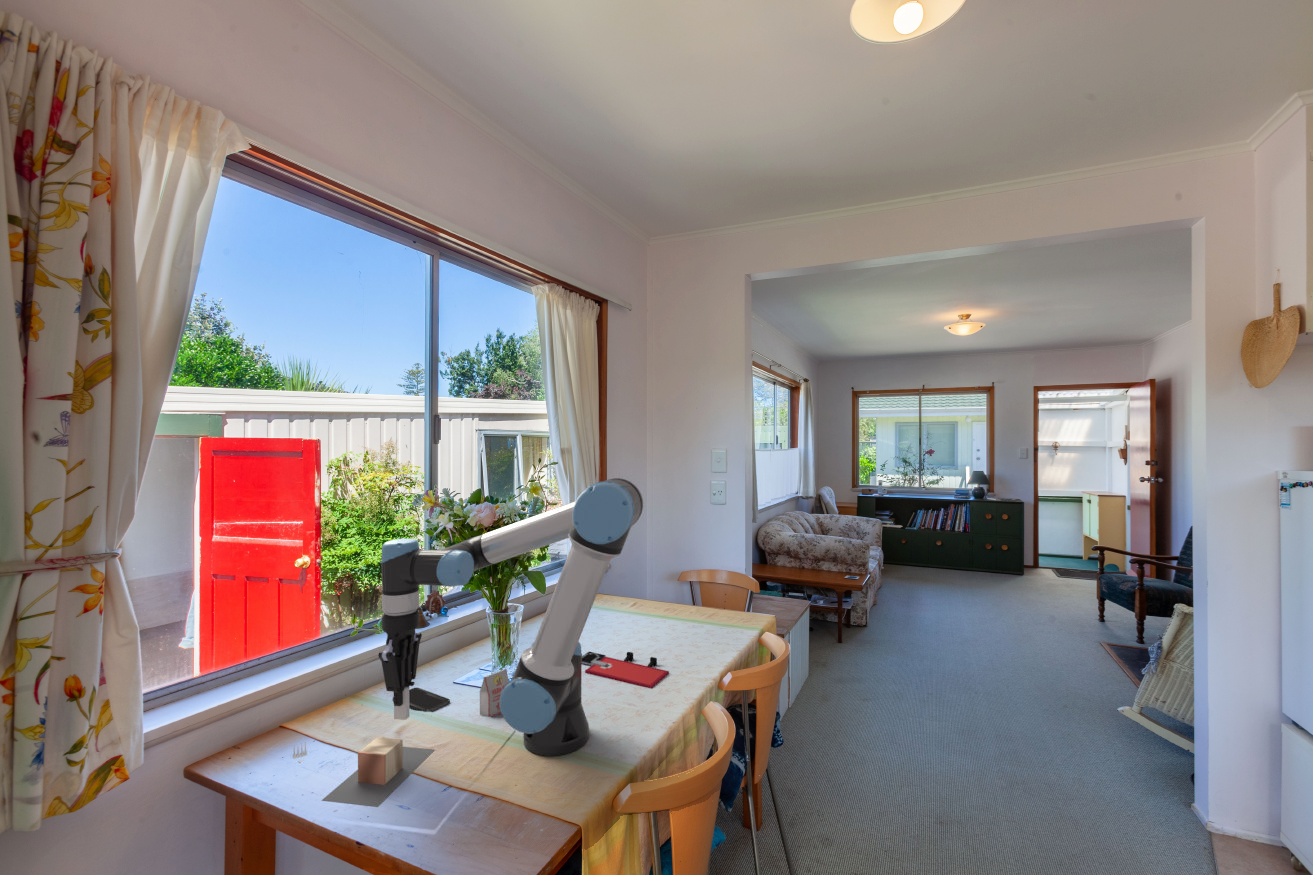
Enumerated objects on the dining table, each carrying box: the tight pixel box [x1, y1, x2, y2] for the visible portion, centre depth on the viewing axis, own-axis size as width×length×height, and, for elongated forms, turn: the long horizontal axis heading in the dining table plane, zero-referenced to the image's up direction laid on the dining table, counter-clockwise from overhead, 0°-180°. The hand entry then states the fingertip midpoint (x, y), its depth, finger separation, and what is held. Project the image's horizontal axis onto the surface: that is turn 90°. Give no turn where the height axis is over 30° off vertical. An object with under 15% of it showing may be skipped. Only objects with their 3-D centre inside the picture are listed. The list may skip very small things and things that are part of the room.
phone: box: [392, 687, 451, 713], centre depth 153 cm, size 8×1×15 cm
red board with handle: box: [582, 651, 670, 689], centre depth 174 cm, size 30×3×15 cm
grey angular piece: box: [479, 668, 510, 718], centre depth 147 cm, size 4×7×10 cm, turn 141°
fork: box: [293, 743, 308, 764], centre depth 122 cm, size 3×16×2 cm, turn 35°
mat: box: [321, 746, 435, 808], centre depth 119 cm, size 12×20×1 cm, turn 171°
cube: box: [357, 736, 404, 785], centre depth 119 cm, size 6×6×6 cm
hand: (401, 717), depth 125 cm, fingers closed
